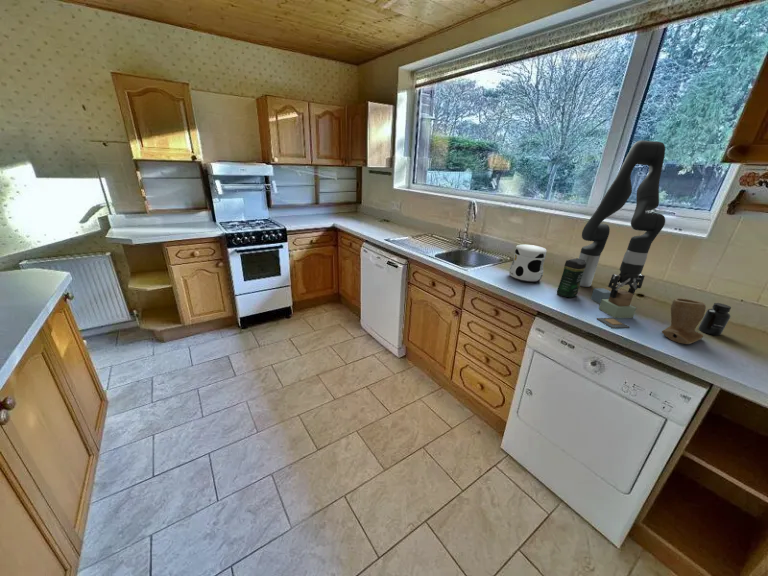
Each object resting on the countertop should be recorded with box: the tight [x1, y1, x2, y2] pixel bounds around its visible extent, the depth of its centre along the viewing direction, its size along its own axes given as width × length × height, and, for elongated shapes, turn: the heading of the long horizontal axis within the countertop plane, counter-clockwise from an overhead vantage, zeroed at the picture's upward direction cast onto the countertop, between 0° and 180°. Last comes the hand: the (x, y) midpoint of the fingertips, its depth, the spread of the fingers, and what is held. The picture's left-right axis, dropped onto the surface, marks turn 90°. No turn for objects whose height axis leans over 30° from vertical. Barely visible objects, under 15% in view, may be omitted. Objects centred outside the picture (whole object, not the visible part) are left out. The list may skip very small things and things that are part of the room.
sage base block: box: [598, 299, 637, 319], centre depth 141 cm, size 9×9×5 cm
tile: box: [596, 316, 630, 329], centre depth 131 cm, size 8×8×1 cm
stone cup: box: [661, 297, 707, 345], centre depth 121 cm, size 15×12×15 cm
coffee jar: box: [556, 257, 586, 299], centre depth 156 cm, size 10×8×19 cm
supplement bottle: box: [698, 302, 732, 337], centre depth 127 cm, size 7×7×12 cm
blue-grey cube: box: [590, 287, 611, 304], centre depth 153 cm, size 6×6×6 cm
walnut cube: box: [608, 288, 635, 306], centre depth 139 cm, size 6×6×6 cm
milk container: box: [508, 243, 547, 283], centre depth 175 cm, size 17×17×18 cm
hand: (620, 297), depth 139 cm, fingers open, 8 cm apart
